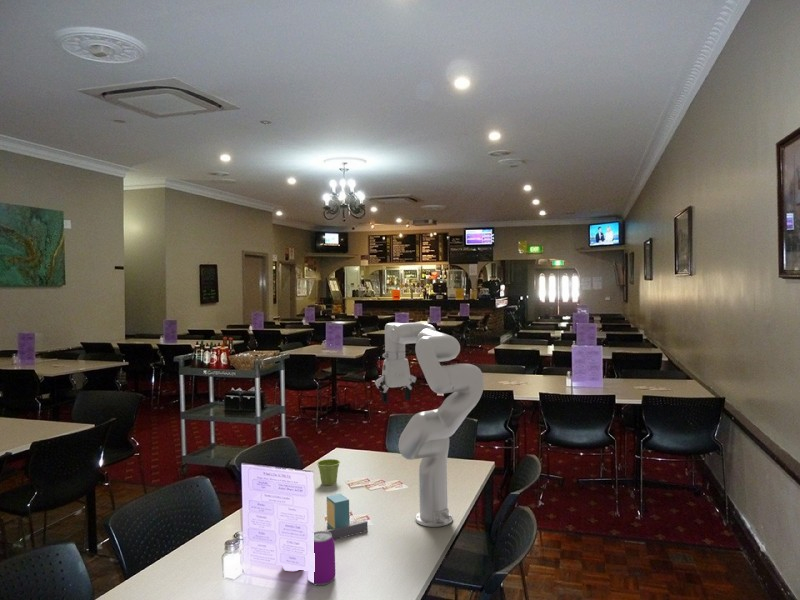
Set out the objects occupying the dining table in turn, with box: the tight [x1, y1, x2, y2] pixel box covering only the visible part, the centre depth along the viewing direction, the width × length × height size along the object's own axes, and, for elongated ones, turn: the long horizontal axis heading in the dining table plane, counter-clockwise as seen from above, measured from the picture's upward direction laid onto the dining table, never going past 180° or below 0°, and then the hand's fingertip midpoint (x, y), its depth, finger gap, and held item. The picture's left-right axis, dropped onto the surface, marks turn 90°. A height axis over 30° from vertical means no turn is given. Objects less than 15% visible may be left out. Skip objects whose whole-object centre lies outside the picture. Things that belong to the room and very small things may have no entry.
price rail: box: [325, 520, 369, 541], centre depth 186 cm, size 4×14×3 cm, turn 120°
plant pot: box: [316, 458, 341, 486], centre depth 235 cm, size 9×9×9 cm
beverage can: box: [313, 530, 336, 586], centre depth 156 cm, size 8×8×12 cm
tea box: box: [326, 493, 351, 530], centre depth 191 cm, size 5×7×10 cm
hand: (396, 401), depth 215 cm, fingers open, 9 cm apart
